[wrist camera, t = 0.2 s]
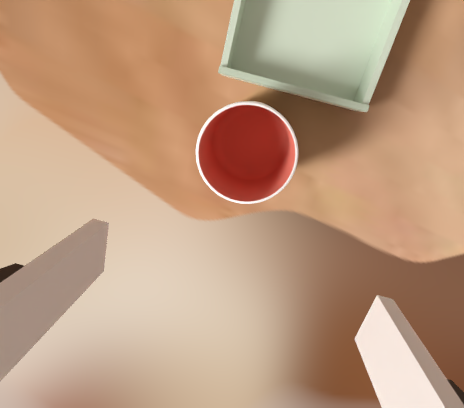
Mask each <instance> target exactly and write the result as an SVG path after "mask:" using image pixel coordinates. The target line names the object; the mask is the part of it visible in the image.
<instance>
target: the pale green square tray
mask: <svg viewBox="0 0 464 408" xmlns="http://www.w3.org/2000/svg"><path fill="white" fill-rule="evenodd" d="M409 2H410V0H234V4H233V9H232V13H231V18H230V23H229V28H228V32H227V37H226V42H225V46H224V51H223V56H222V61H221V65H220V67H219V72H218V73H220V74H221V75H223V76H226V77H229V78H233V79H237V80H241V81H244V82H248V83H252V84H256V85H259V86H263V87H267V88H271V89H274V90H278V91H282V92H286V93H289V94H293V95H297V96H301V97H304V98H308V99H312V100H316V101H319V102H323V103H327V104H331V105H334V106H338V107H342V108H346V109H349V110H353V111H360V112H367V111H368V109H369V102H370V100H371V97H372V95H373V92H374V90H375V87H376V85H377V82H378V80H379V77H380V75H381V72H382V70H383V67H384V65H385V62H386V60H387V57H388V55H389V52H390V50H391V47H392V45H393V42H394V40H395V37H396V35H397V32H398V30H399V27H400V24H401V22H402V19H403V17H404V14H405V12H406V9H407V7H408V4H409Z"/></svg>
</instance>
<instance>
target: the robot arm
mask: <svg viewBox="0 0 464 408" xmlns="http://www.w3.org/2000/svg"><path fill="white" fill-rule="evenodd" d="M108 224H109V223H107V222H103V221H99V220H96V219H92V220H91V221H89V222H88V223H86V224H85V225H84V226H82V227H81V228H79V229H78V230H76V231H75V232H74V233H72V234H71V235H69V236H68V237H66V238H65V239H63V240H62V241H60V242H59V243H57V244H56V245H54V246H53V247H51V248H50V249H49V250H47V251H46V252H44V253H43V254H41V255H40V256H38V257H37V258H35V259H34V260H33V261H31V262H30V263H28V264H27V265H25V266H23V265H19V264H16V263H15V264H13V265H10V266H7V267H4V268H1V269H0V381H1V380H2V379H3V378H4V377H5V376H6V375H7V374H8V372H9V371H10V370H11V369H12V368H13V367H14V366H15V365H16V364H17V363H18V362H19V361H20V360H21V359H22V357H23V356H24V355H25V354H26V353H27V352H28V351H29V350H30V349H31V348H32V347H33V346H34V345H35V344H36V343H37V342H38V340H39V339H40V338H41V337H42V336H43V335H44V334H45V333H46V332H47V331H48V330H49V329H50V328H51V327H52V326H53V325H54V323H55V322H56V321H57V320H58V319H59V318H60V317H61V316H62V315H63V314H64V313H65V312H66V311H67V309H68V308H69V307H70V306H71V305H72V304H73V303H74V302H75V301H76V300H77V299H78V298H79V297H80V296H81V295H82V294H83V292H85V290H86V289H87V288H88V287H89V286H90V285H91V284H92V283H93V282H94V281H95V280H96V279H97V277H98V276H100V274H101V273H102V272H103V271H104V262H105V253H106V244H107V243H106V242H107V234H108ZM355 341H356V343H357V346H358V349H359V351H360V354H361V356H362V359H363V361H364V364H365V366H366V369H367V371H368V374H369V376H370V379H371V381H372V384H373V387H374V389H375V392H376V394H377V397H378V399H379V402H380V404H381V407H382V408H464V392H463V391H462V390H461V389H460V388H459V387H458V386H457V385H456V384H455V383H454V382H453V381H452V380H448V379H446V378H445V376H444V375H443V373H442V372H441V370H440V369H439V367H438V366H437V364H436V363H435V361H434V360H433V358H432V357H431V355H430V354H429V352H428V351H427V349H426V348H425V346H424V345H423V343H422V342H421V340H420V339H419V338H418V336H417V334H416V333H415V331H414V330H413V329H412V327H411V325H410V324H409V322H408V321H407V319H406V318H405V316H404V315H403V314H402V312H401V311H400V309H399V308H398V306H397V305H396V303H395V302H394V300H393V299H390V298H386V297H383V296H379V295H377V296H376V298H375V300H374V302H373V304H372V306H371V308H370V310H369V312H368V314H367V316H366V318H365V320H364V322H363V323H362V325H361V327H360V329H359V331H358V333H357V335H356V337H355Z"/></svg>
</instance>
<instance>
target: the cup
mask: <svg viewBox="0 0 464 408" xmlns="http://www.w3.org/2000/svg"><path fill="white" fill-rule="evenodd" d="M196 161H197V165H198V169H199V172H200V174H201V176H202V178H203V179H204V181H205V182H206V184H207V185H208V186H209V187H210V188H211V189H212V190H213V191H214V192H215V193H216V194H218V195H219V196H221V197H223V198H224V199H227V200H229V201H232V202H236V203H242V204H253V203H259V202H262V201H265V200H268V199H270V198H272V197H273V196H275V195H277V194H278V193H279V192H280V191H282V190H283V189H284V188H285V187H286V185H287V184H288V183H289V181H290V180H291V178H292V176H293V174H294V172H295V169H296V166H297V162H298V143H297V139H296V136H295V133H294V131H293V129H292V127H291V125H290V124H289V122H288V121H287V120H286V119H285V118H284V116H283V115H281V114H280V113H279V112H278V111H276V110H275V109H274V108H272V107H271V106H269V105H267V104H264V103H261V102H256V101H243V102H236V103H232V104H229V105H227V106H225V107H223V108H221V109H219V110H218V111H216V112H215V113H214V114H213V115H212V116H211V117H210V118H209V119H208V120H207V121H206V123H205V124H204V126H203V127H202V129H201V131H200V134H199V136H198V140H197V145H196Z"/></svg>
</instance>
